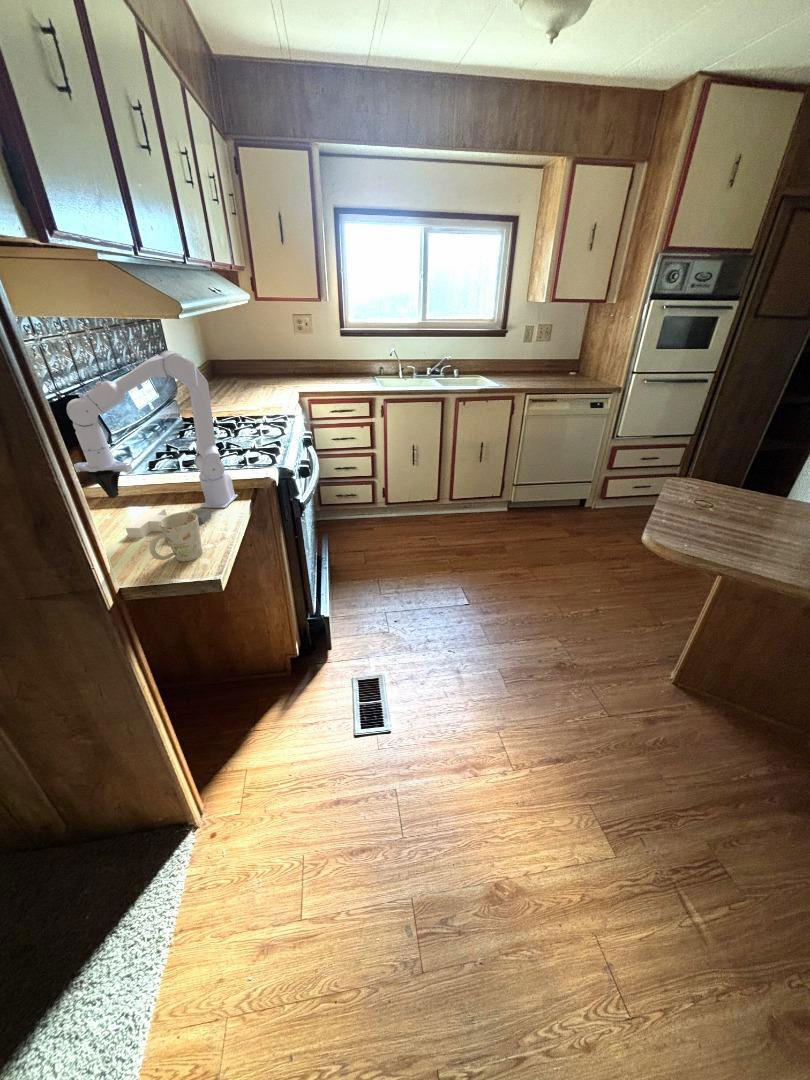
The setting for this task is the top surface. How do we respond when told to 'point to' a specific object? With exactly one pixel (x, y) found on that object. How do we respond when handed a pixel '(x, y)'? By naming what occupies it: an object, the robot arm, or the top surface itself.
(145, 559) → the top surface
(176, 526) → the mug
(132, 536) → the t block
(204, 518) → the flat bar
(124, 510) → the top surface
